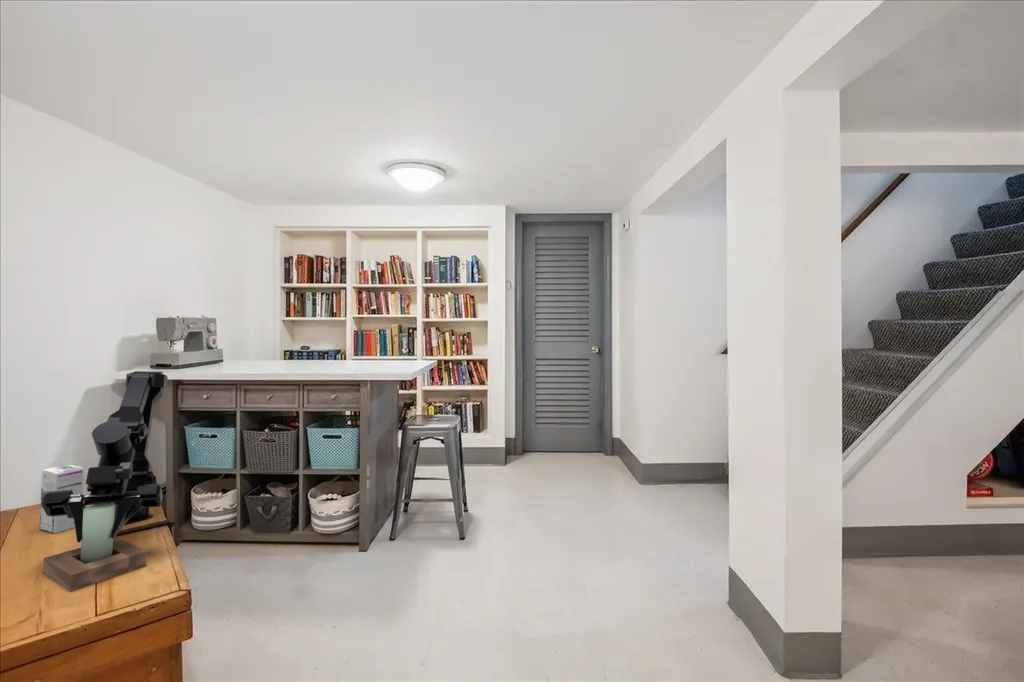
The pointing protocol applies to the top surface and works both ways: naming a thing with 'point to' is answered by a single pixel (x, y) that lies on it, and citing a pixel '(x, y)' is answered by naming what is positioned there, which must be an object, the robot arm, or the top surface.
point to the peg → (97, 532)
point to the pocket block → (93, 565)
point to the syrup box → (59, 481)
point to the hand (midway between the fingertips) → (95, 539)
